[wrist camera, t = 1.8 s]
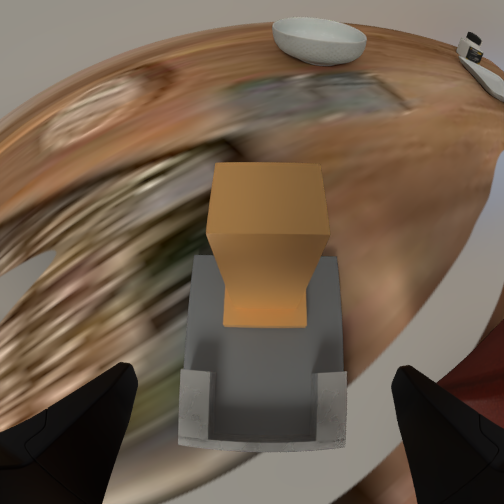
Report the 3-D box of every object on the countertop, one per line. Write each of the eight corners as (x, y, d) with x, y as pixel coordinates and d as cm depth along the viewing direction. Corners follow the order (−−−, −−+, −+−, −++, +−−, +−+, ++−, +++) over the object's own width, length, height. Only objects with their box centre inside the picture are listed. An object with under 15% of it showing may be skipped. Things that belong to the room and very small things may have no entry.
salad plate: (488, 98, 41) (492, 89, 38) (454, 61, 50) (457, 53, 47) (528, 121, 40) (532, 114, 37) (496, 83, 49) (499, 76, 46)
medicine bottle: (464, 60, 53) (473, 35, 42) (455, 51, 56) (463, 27, 45) (478, 66, 52) (487, 43, 42) (469, 58, 56) (477, 35, 45)
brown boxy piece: (304, 327, 20) (353, 266, 9) (224, 327, 20) (181, 264, 9) (297, 189, 26) (313, 78, 15) (234, 189, 26) (219, 77, 15)
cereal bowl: (327, 42, 46) (330, 15, 39) (378, 74, 39) (385, 44, 33) (257, 48, 43) (256, 18, 37) (302, 82, 37) (305, 44, 30)
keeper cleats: (335, 439, 16) (345, 447, 14) (187, 437, 17) (178, 444, 14) (337, 372, 19) (347, 371, 16) (190, 370, 19) (180, 369, 17)
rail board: (338, 436, 17) (342, 439, 16) (184, 434, 18) (181, 436, 17) (334, 261, 24) (336, 256, 23) (196, 259, 24) (194, 254, 23)
